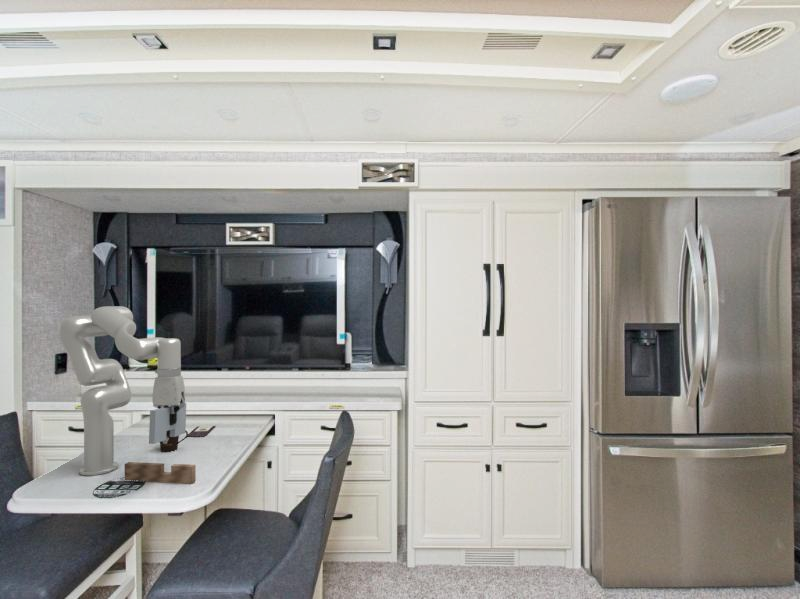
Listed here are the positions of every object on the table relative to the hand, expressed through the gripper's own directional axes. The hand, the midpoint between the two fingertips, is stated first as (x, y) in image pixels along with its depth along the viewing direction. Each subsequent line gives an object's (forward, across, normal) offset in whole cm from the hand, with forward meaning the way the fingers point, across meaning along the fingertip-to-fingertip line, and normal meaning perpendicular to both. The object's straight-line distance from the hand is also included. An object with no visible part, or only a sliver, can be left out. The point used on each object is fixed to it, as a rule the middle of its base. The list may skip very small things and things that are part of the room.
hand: (169, 423), depth 167 cm
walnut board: (+20, -3, -1) cm, 21 cm away
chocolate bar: (+21, -23, +60) cm, 67 cm away
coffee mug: (+20, -20, +32) cm, 43 cm away
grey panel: (+5, 0, -1) cm, 5 cm away
